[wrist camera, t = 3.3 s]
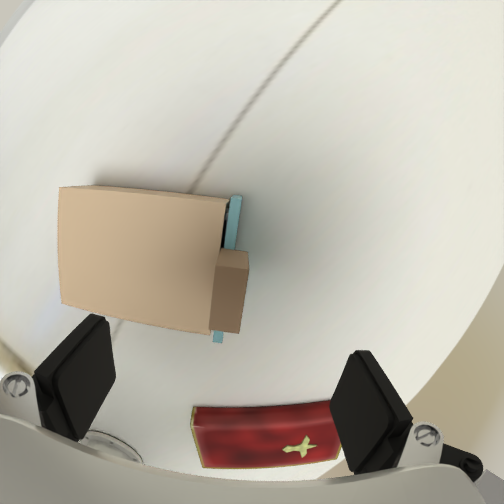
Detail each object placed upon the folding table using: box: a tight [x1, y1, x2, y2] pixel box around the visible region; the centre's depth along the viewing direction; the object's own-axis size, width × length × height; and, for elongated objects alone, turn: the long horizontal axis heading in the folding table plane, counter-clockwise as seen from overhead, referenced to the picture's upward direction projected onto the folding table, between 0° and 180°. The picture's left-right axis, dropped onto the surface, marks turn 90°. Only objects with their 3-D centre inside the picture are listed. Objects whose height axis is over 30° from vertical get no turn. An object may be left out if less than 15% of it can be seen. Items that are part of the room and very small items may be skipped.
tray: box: [208, 195, 249, 343], centre depth 22 cm, size 16×12×11 cm
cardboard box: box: [58, 185, 230, 335], centre depth 24 cm, size 15×11×6 cm
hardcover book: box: [190, 400, 342, 469], centre depth 33 cm, size 12×21×4 cm, turn 91°
